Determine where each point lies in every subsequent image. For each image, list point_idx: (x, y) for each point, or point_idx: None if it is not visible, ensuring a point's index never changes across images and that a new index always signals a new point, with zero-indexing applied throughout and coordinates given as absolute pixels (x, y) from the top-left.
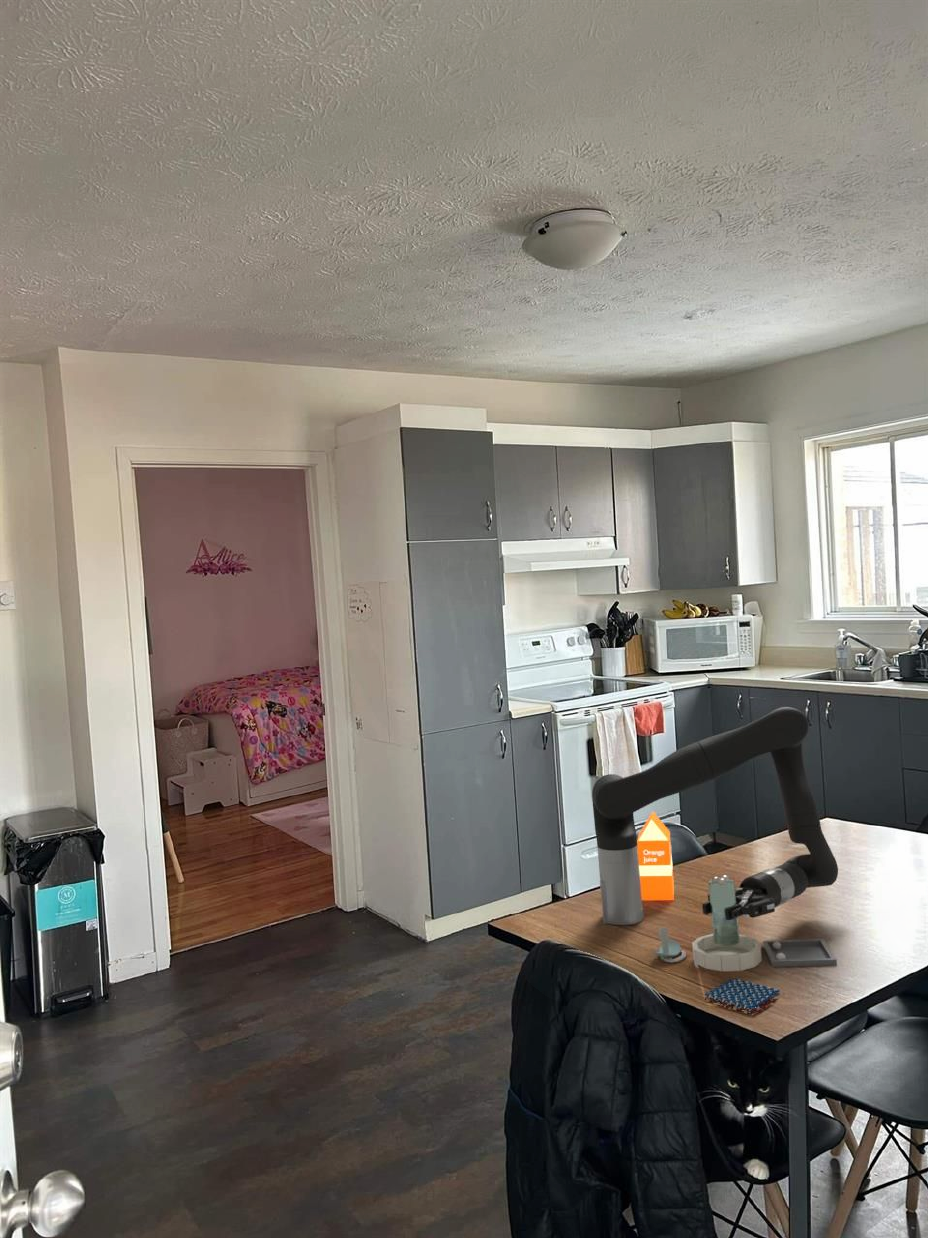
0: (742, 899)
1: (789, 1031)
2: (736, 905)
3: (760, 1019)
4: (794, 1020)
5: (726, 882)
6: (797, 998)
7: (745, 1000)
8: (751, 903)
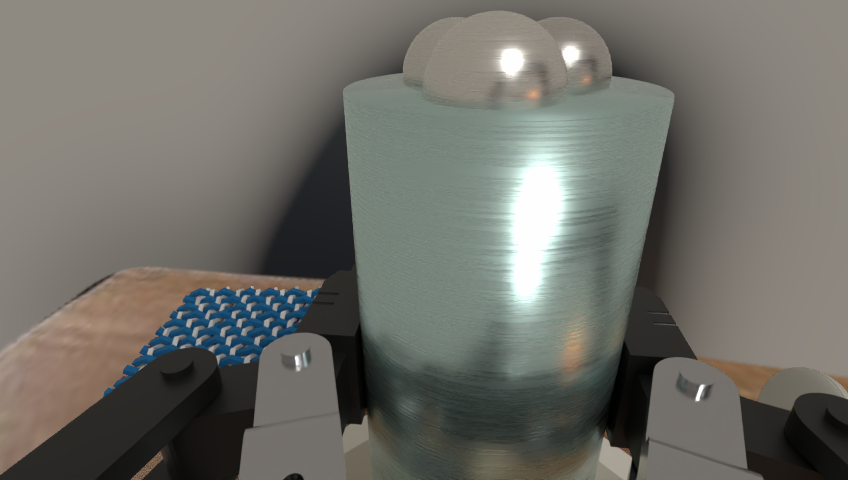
0: (328, 415)
1: (93, 292)
2: (339, 316)
3: (174, 301)
4: (72, 329)
5: (404, 62)
6: (36, 440)
7: (220, 306)
8: (176, 365)
